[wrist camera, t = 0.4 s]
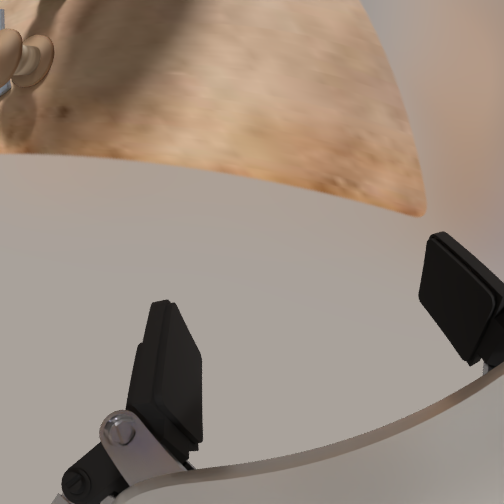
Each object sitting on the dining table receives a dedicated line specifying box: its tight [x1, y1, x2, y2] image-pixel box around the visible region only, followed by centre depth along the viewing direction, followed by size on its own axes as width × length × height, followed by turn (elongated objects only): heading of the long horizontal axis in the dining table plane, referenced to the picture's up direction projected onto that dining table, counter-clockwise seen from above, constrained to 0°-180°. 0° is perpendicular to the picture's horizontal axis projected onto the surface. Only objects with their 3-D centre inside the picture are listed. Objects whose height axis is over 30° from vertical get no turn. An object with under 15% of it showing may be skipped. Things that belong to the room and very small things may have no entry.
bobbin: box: [0, 29, 54, 88], centre depth 20 cm, size 8×8×9 cm
